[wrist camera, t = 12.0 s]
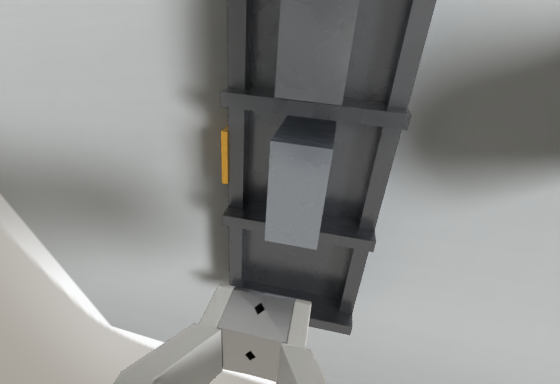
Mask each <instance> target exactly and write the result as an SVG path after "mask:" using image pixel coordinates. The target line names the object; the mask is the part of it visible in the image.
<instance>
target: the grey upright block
mask: <svg viewBox="0 0 560 384" xmlns="http://www.w3.org/2000/svg"><path fill="white" fill-rule="evenodd" d="M336 123H337V121H331V120H323V119H315V118H307V117H299V116H291V115H287V117H286V118H285V120H284V121H283V123H282V124H281V126H280V127H279V129H278V130H277V132H276V133H275V135H274V136H273V138H272V139H271V142H270V158H269V175H268V192H267V208H266V225H265V241H270V242H275V243H281V244H286V245H292V246H298V247H303V248H309V249H314V250H317V245H318V239H319V233H320V227H321V221H322V215H323V208H324V202H325V196H326V190H327V184H328V178H329V172H330V166H331V160H332V154H333V147H334V139H335V131H336Z"/></svg>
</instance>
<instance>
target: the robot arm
mask: <svg viewBox="0 0 560 384" xmlns="http://www.w3.org/2000/svg"><path fill="white" fill-rule="evenodd" d="M311 305H312V304H311V302H310V301H305V300H300V299H296V300H295V298H291V297H285V296H280V295H275V294H270V293H263V292H258V291H254V290H250V289H245V288H241V287H237V286H231V285H227V284H223V283H221V284H220V285H219V286H218V287H217V289H216V291H215V293H214V295H213V297H212V299H211V301H210V303H209V305H208V307H207V309H206V311H205V313H204V315H203V317H202V319H201V321H200V323H199V324H196V323H194V324H192V325H191V326H189V327H188V328H186V329H185V330H183V331H182V332H180V333H179V334H177V335H176V336H174V337H173V338H171V339H170V340H168V341H167V342H165V343H164V344H162V345H161V346H159V347H158V348H156V349H155V350H153V351H152V352H150V353H148V354H147V355H146V356H144V357H142V358H141V359H139V360H138V361H136V362H135V363H133V364H132V365H130V366H129V367H127V368H126V369H124V370H123V371H121V373H120V374H119V376H118V377H117V379H116V380H115V382H114V383H113V384H209V383H210V382H211V381H212V380H213V379H214V378H215V377H216V376H217V375H218V374H219V373H220V372H221V371H222V369H226V370H231V371H235V372H240V373H245V374H250V375H253V376H257V377H261V378H264V379H268V380H272V381H275V382H276V384H327V382H326V380H325V378H324V376H323V374H322V372H321V370H320V368H319V366H318V364H317V361H316V359H315V357H314V355H313V353H312V351H311V349H308V348H306V342H307V335H308V327H309V320H310V312H311Z"/></svg>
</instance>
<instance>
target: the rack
mask: <svg viewBox="0 0 560 384" xmlns="http://www.w3.org/2000/svg"><path fill="white" fill-rule="evenodd" d="M435 3H436V0H227V6H228V88H226V89H224V90H223V91H221V92H220V107H227V108H228V126H227V127H225V128H224V129H223V130H222V131H221V155H222V183H224V184H228V183H229V206H228V208H227V209H226V211H225V212H224V214H223V215H222V219H223V225H224V226H229V285H231V286H237V287H241V288H245V289H250V290H254V291H258V292H263V293H270V294H275V295H280V296H285V297H291V298H295V300H296V299H300V300H305V301H310V302H311V304H312V305H311V312H310V320H309V326H310V327H315V328H319V329H324V330H329V331H333V332H338V333H343V334H347V335H350V333H351V330H352V312H353V308H354V304H355V301H356V297H357V293H358V289H359V286H360V282H361V278H362V275H363V271H364V267H365V263H366V260H367V256H368V252H369V251H370V252H373V251H374V247H375V244H376V239H375V226H376V223H377V219H378V215H379V211H380V208H381V204H382V200H383V197H384V193H385V189H386V185H387V182H388V178H389V174H390V171H391V167H392V163H393V159H394V156H395V152H396V148H397V145H398V141H399V137H400V133H401V130H407V129H408V125H409V121H410V118H411V113H410V112H409V110H408V109H407V107H408V104H409V100H410V96H411V93H412V89H413V85H414V81H415V78H416V74H417V70H418V67H419V63H420V59H421V55H422V52H423V48H424V44H425V41H426V37H427V33H428V29H429V26H430V22H431V18H432V15H433V11H434V7H435ZM287 115H291V116H299V117H307V118H315V119H323V120H331V121H337V123H336V131H335V139H334V147H333V154H332V160H331V166H330V172H329V178H328V184H327V190H326V196H325V202H324V208H323V215H322V221H321V227H320V233H319V239H318V245H317V250H314V249H309V248H303V247H298V246H292V245H286V244H281V243H275V242H270V241H265V225H266V208H267V192H268V175H269V158H270V142H271V139H272V138H273V136H274V135H275V133H276V132H277V130H278V129H279V127H280V126H281V124H282V123H283V121H284V120H285V118H286V117H287Z"/></svg>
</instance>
